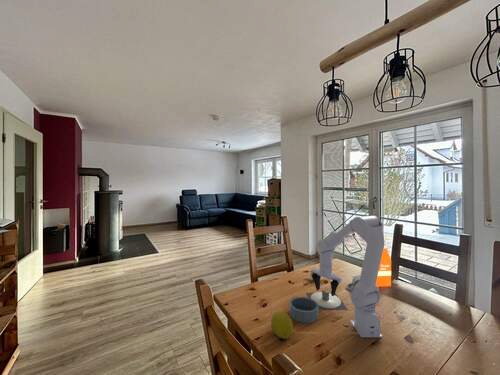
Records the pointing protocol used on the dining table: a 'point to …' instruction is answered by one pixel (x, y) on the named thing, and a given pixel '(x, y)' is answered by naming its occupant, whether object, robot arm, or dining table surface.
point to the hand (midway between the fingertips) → (325, 292)
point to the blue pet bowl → (303, 309)
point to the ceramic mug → (353, 283)
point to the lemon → (282, 325)
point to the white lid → (326, 300)
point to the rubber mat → (341, 307)
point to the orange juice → (384, 270)
